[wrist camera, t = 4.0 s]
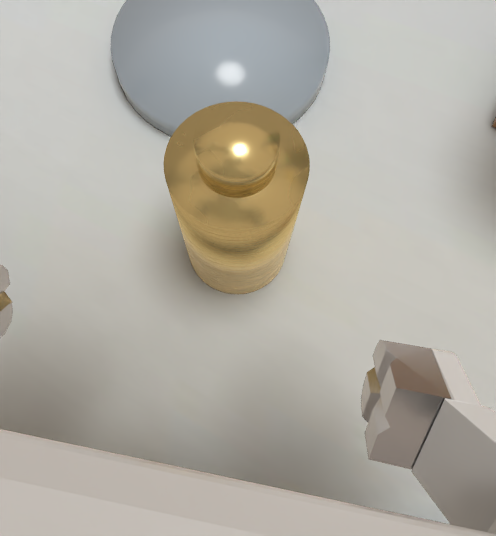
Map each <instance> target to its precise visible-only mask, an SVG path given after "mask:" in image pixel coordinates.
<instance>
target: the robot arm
mask: <svg viewBox="0 0 496 536" xmlns="http://www.w3.org/2000/svg"><path fill="white" fill-rule="evenodd" d="M9 285H10V280H9V273H8V270H7V269H6V268H5V267H4V266H3V265H0V338H1V337H2V336H3V335H4V334H5V333H6V331H7V329H8V327H9V325H10V323H11V319H12V313H13V308H12V301H11V300H10V298H9V297H8V296H7V294H6V293H5V292H4V291H5V290H6V289H7V287H8V286H9ZM373 360H374V365H375V367H374V368H373V369H371V370H370V371H368V372H367V374H366V377H365V380H364V384H363V389H362V395H361V411H362V417H363V418H364V419H365V420H366V421H367V422H368V425H367V427H366V430H365V439H366V446H367V452H368V459H370V460H374V461H378V462H382V463H387V464H391V465H395V466H399V467H404V468H408V469H412V473H413V474H414V476H415V477H416V478H417V480H418V481H419V482H420V484H421V485H422V486H423V488H424V489H425V490H426V492H427V493H428V494H429V496H430V497H431V498H432V500H433V501H434V502H435V504H436V505H437V507H438V508H439V509H440V511H441V512H442V513H443V515H444V516H445V517H446V519H447V520H448V521H449V523H450V524H446V523H441V522H436V521H432V520H427V519H422V518H418V517H413V516H408V515H403V514H398V513H394V512H389V511H384V510H379V509H374V508H370V507H365V506H360V505H356V504H351V503H346V502H342V501H337V500H332V499H328V498H323V497H318V496H314V495H309V494H304V493H300V492H295V491H290V490H286V489H281V488H276V487H271V486H267V485H262V484H257V483H253V482H248V481H243V480H239V479H234V478H229V477H225V476H220V475H215V474H211V473H206V472H201V471H197V470H192V469H187V468H183V467H178V466H173V465H169V464H164V463H159V462H154V461H150V460H145V459H140V458H135V457H131V456H126V455H121V454H116V453H112V452H107V451H102V450H98V449H93V448H88V447H83V446H79V445H74V444H69V443H64V442H60V441H55V440H50V439H45V438H41V437H36V436H31V435H27V434H22V433H17V432H12V431H8V430H3V429H0V536H496V412H495V411H494V410H492V409H491V408H490V407H486V406H481V403H480V401H479V399H478V397H477V395H476V393H475V391H474V389H473V387H472V385H471V383H470V381H469V379H468V377H467V375H466V373H465V371H464V369H463V367H462V365H461V363H460V361H459V359H458V357H457V355H456V354H455V353H453V352H450V351H444V350H438V349H431V348H425V347H419V346H413V345H407V344H401V343H395V342H389V341H383V340H379V342H378V344H377V345H376V348H375V351H374V353H373Z"/></svg>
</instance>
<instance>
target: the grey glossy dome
mask: <svg viewBox="0 0 496 536" xmlns="http://www.w3.org/2000/svg"><path fill="white" fill-rule="evenodd" d="M329 52H330V37H329V32H328V27H327V24H326V21H325V18H324V16H323V14H322V12H321V10H320V8H319V6H318V5H317V4H316V2H315V1H314V0H126V2H125V3H124V4H123V6H122V8H121V9H120V11H119V13H118V15H117V17H116V20H115V23H114V26H113V30H112V35H111V54H112V61H113V64H114V67H115V70H116V73H117V76H118V79H119V81H120V84H121V87H122V90H123V92H124V94H125V96H126V97H127V99H128V101H129V102H130V104H131V105H132V106H133V108H134V109H135V110H136V111H137V112H138V113H139V114H140V115H141V116H142V117H143V118H144V119H145V120H146V121H147V122H149V123H150V124H151V125H153V126H154V127H155V128H157V129H159V130H161V131H162V132H164V133H166V134H168V135H170V136H172V135H173V133H174V132H175V130H176V129H177V128H178V127H179V125H180V124H181V123H182V122H184V121H185V120H186V119H187V118H188V117H190V116H191V115H192V114H194V113H195V112H197V111H199V110H201V109H203V108H206V107H208V106H211V105H214V104H218V103H223V102H234V101H238V102H249V103H255V104H258V105H262V106H265V107H267V108H270V109H272V110H274V111H276V112H277V113H279V114H280V115H282V116H283V117H285V118H286V119H287V120H288V121H289V122H290V123H292V124H293V123H294V122H295V121H296V120H298V119H299V118H300V117H301V116H302V115H303V114H304V113H305V112H306V111H307V110H308V108H309V107H310V106H311V104H312V103H313V102H314V100H315V98H316V96H317V95H318V93H319V91H320V88H321V85H322V82H323V79H324V75H325V71H326V68H327V64H328V59H329Z"/></svg>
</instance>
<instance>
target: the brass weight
mask: <svg viewBox="0 0 496 536" xmlns="http://www.w3.org/2000/svg"><path fill="white" fill-rule="evenodd" d="M164 174H165V179H166V182H167V186H168V189H169V192H170V195H171V199H172V202H173V205H174V209H175V212H176V215H177V218H178V222H179V225H180V228H181V231H182V235H183V238H184V241H185V244H186V248H187V251H188V254H189V257H190V261H191V264H192V266H193V268H194V270H195V272H196V273H197V275H198V276H199V277H200V278H201V279H202V280H203V281H204V282H205V283H206V284H207V285H209V286H210V287H212V288H214V289H216V290H218V291H221V292H224V293H230V294H245V293H250V292H253V291H256V290H258V289H260V288H263V287H264V286H266V285H267V284H268V283H270V282H271V281H272V280H273V279H274V278H275V277H276V275H277V274H278V272H279V271H280V269H281V267H282V265H283V262H284V259H285V255H286V252H287V249H288V245H289V242H290V238H291V235H292V232H293V228H294V225H295V221H296V218H297V215H298V211H299V208H300V204H301V201H302V198H303V194H304V191H305V187H306V184H307V181H308V176H309V155H308V151H307V147H306V145H305V142H304V140H303V138H302V136H301V135H300V133H299V132H298V130H297V129H296V128H295V127H294V126H293V124H292V123H290V122H289V121H288V120H287V119H286V118H285V117H283V116H282V115H280V114H279V113H277V112H276V111H274V110H272V109H270V108H267V107H265V106H262V105H258V104H255V103H249V102H238V101H234V102H223V103H218V104H214V105H211V106H208V107H206V108H203V109H201V110H199V111H197V112H195V113H194V114H192V115H191V116H190V117H188V118H187V119H186V120H185V121H184V122H182V123H181V124H180V125H179V127H178V128H177V129H176V130H175V132H174V133H173V135H172V137H171V138H170V140H169V143H168V145H167V148H166V152H165V156H164Z"/></svg>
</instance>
